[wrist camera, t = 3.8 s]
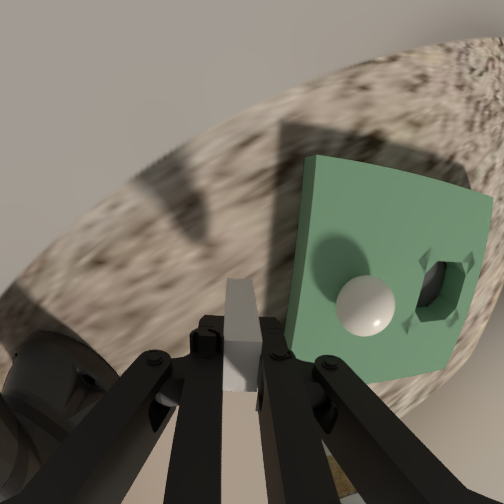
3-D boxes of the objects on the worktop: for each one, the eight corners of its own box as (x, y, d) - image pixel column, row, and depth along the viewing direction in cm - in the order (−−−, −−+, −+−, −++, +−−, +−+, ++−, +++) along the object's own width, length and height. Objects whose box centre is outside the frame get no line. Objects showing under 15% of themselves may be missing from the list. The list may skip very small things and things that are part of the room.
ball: (323, 318, 19) (341, 350, 15) (333, 265, 18) (357, 289, 14) (371, 317, 20) (395, 345, 16) (383, 267, 18) (413, 289, 15)
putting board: (278, 368, 24) (283, 390, 21) (304, 157, 19) (316, 154, 16) (431, 354, 25) (444, 368, 22) (472, 193, 20) (493, 197, 18)
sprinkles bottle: (297, 415, 26) (324, 521, 13) (337, 400, 26) (379, 502, 13) (307, 434, 27) (332, 529, 14) (343, 421, 27) (380, 512, 14)
